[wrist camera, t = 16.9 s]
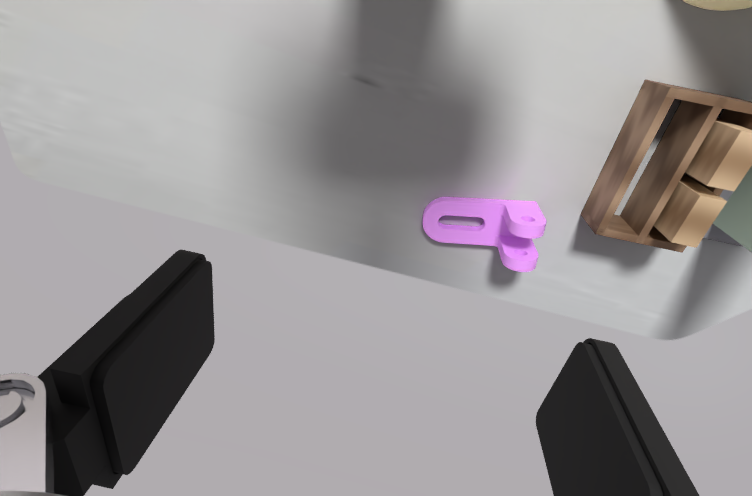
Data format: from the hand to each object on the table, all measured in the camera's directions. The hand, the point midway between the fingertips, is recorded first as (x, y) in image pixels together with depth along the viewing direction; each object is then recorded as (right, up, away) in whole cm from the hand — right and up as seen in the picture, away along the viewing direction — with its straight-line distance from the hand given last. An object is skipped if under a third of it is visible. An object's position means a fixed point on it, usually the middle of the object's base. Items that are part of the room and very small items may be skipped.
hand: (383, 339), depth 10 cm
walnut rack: (+30, +12, +34) cm, 46 cm away
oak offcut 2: (+31, +9, +35) cm, 48 cm away
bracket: (+12, +6, +40) cm, 42 cm away
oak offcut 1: (+32, +14, +32) cm, 48 cm away
